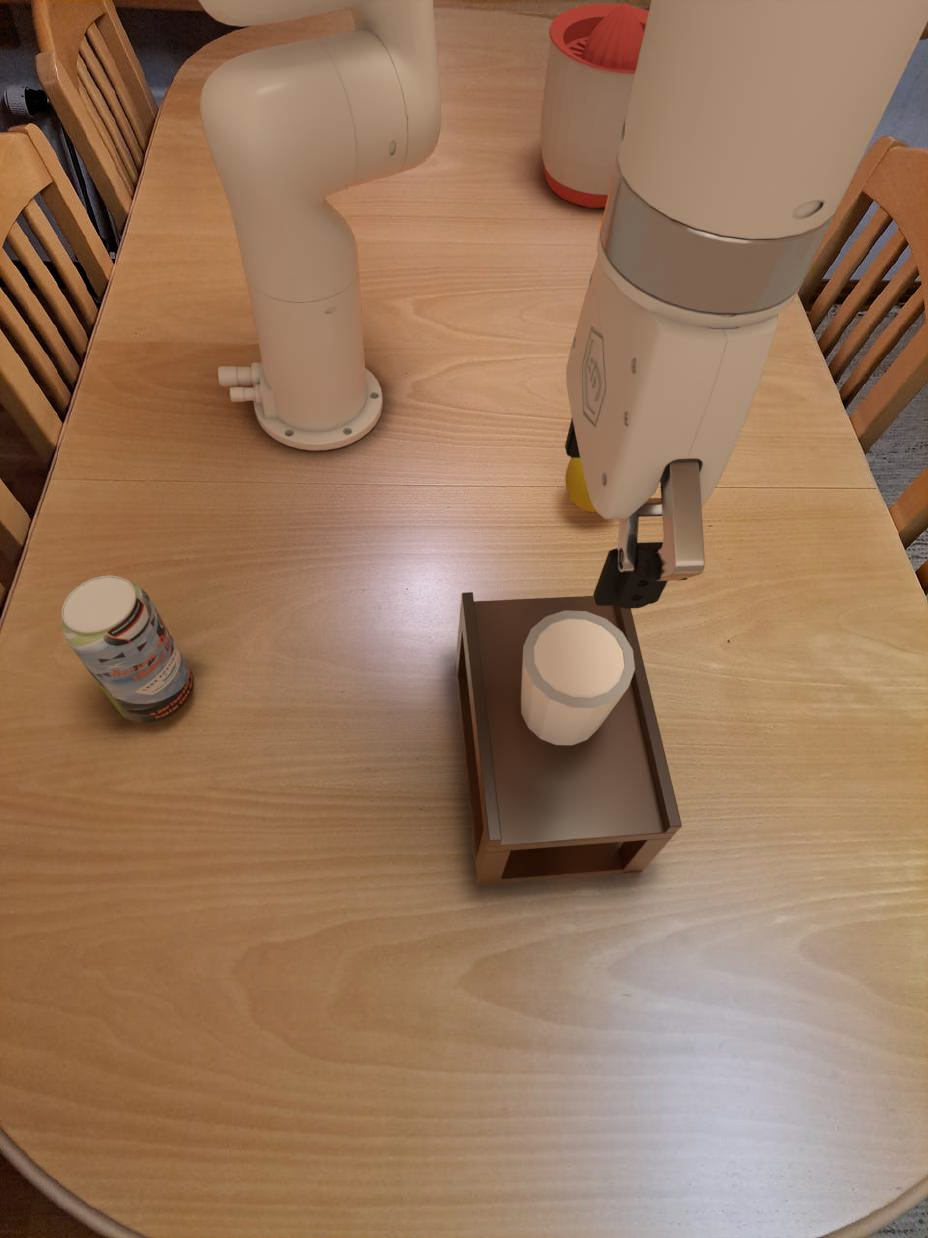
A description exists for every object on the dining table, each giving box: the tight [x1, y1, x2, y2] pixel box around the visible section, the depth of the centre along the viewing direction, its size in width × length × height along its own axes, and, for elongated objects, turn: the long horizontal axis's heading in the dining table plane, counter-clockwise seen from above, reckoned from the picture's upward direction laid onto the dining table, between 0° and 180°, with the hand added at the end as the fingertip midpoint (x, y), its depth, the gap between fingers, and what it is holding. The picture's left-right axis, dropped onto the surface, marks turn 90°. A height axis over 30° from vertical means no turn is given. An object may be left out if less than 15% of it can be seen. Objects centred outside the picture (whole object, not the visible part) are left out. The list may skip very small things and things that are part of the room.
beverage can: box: [61, 575, 195, 724], centre depth 60 cm, size 6×7×12 cm
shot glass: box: [521, 611, 635, 745], centre depth 53 cm, size 7×7×7 cm
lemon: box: [564, 457, 598, 513], centre depth 74 cm, size 6×6×8 cm
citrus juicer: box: [539, 2, 649, 209], centre depth 97 cm, size 16×17×20 cm
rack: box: [454, 591, 683, 886], centre depth 59 cm, size 12×18×10 cm, turn 5°
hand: (607, 522), depth 44 cm, fingers open, 9 cm apart
